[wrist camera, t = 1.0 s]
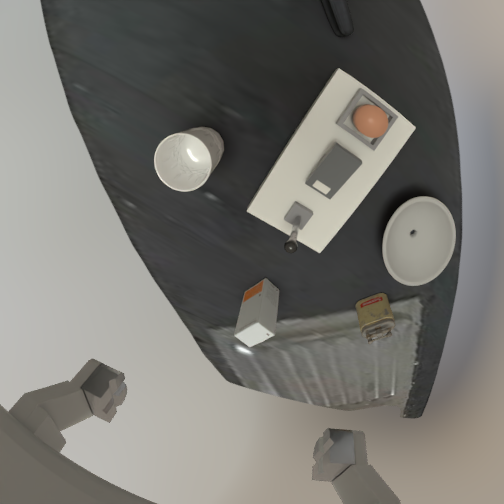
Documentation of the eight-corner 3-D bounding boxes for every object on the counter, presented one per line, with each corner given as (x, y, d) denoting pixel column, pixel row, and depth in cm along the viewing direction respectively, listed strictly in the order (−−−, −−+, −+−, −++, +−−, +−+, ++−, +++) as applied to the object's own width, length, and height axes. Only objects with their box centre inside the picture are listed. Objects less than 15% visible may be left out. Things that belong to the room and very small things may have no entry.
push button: (363, 98, 31) (368, 98, 29) (388, 117, 32) (394, 119, 30) (346, 122, 33) (350, 124, 31) (371, 141, 34) (376, 144, 32)
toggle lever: (296, 211, 41) (287, 244, 37) (306, 217, 41) (298, 251, 37) (290, 218, 42) (280, 251, 38) (300, 224, 43) (291, 257, 39)
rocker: (335, 142, 34) (335, 145, 33) (361, 160, 35) (362, 163, 34) (305, 180, 39) (304, 184, 39) (330, 195, 40) (330, 200, 39)
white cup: (178, 125, 40) (150, 136, 32) (226, 121, 39) (208, 130, 31) (183, 171, 45) (159, 192, 36) (229, 169, 44) (214, 190, 35)
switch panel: (335, 69, 33) (340, 67, 29) (408, 124, 35) (420, 129, 31) (249, 203, 46) (245, 215, 43) (318, 244, 49) (320, 258, 45)
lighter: (385, 290, 52) (397, 325, 44) (388, 302, 54) (399, 337, 46) (353, 301, 55) (360, 338, 47) (358, 313, 57) (365, 349, 48)
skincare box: (265, 276, 54) (258, 321, 44) (280, 289, 56) (276, 335, 46) (243, 291, 57) (233, 335, 47) (257, 303, 58) (250, 348, 48)
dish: (366, 197, 43) (374, 209, 39) (439, 176, 38) (453, 187, 34) (382, 278, 51) (388, 294, 47) (445, 258, 46) (455, 273, 42)
